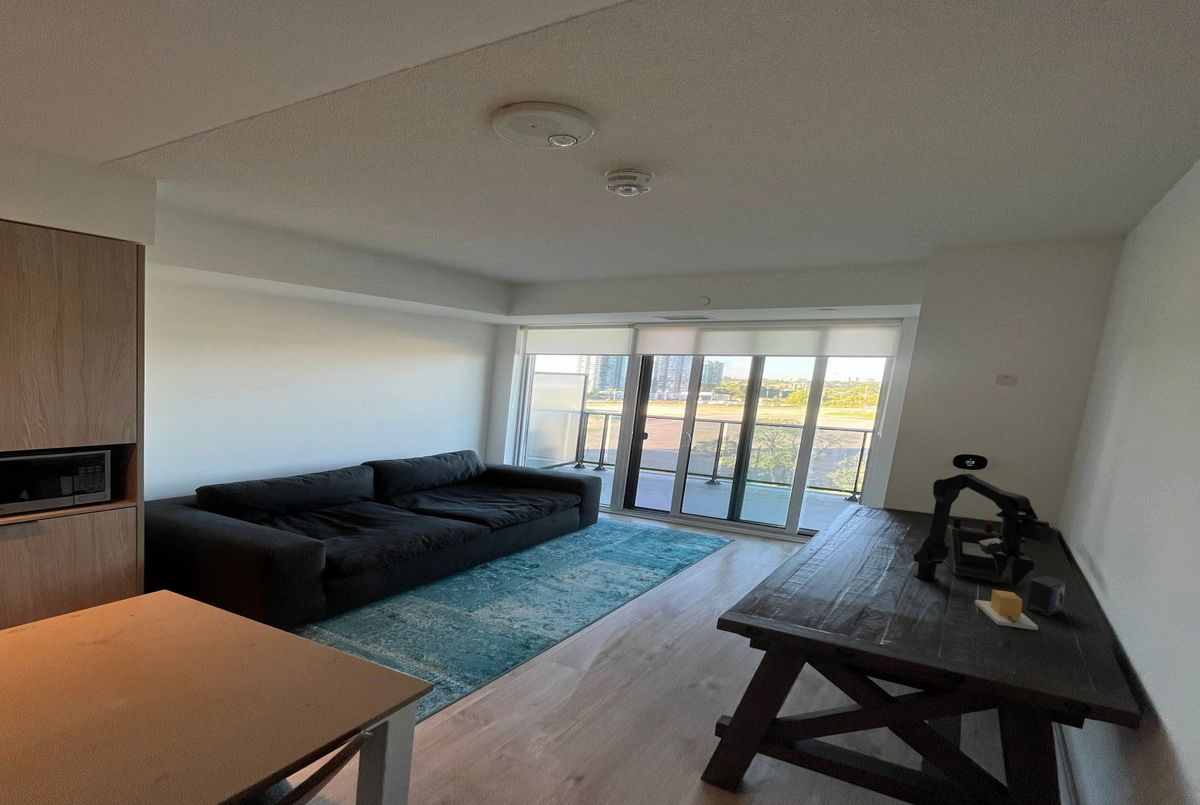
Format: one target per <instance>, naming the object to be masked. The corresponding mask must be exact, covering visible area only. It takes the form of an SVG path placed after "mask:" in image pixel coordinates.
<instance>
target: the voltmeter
mask: <svg viewBox="0 0 1200 805" xmlns="http://www.w3.org/2000/svg"><path fill="white" fill-rule="evenodd" d="M961 521H962V518H960V517H954V518H953V522H952V525H949V524H947V533H946V535H947V536H946V542H945V544H946V546H949V548H950V549H949V551H948V557H946V559H945V560H944V561H945V563H947V565H948V567H949V568H950V570H951V572H953V574H955V576H956V575H957V576H956V577H958V576H962V577H963V576H967V577H974V578H982V579H987V580H991V582H992V581H994V582H998V583H999V582H1004V581H1005V571H1004V572H1003V574H1002V575H998V573H997V568H996V563H995V559H994V557H993V556H992V555H991V554H985V553H984V552H983V551H981V547H980V544H979V541H981V540H987V539H994V538H997V534H998V533H997V532H996V531H993V525H994V524H993V522H991V521H985V522H984V528H983V529H977V528H972V527H964V526H961V525H962V523H961ZM994 582H993V583H994Z"/></svg>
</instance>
